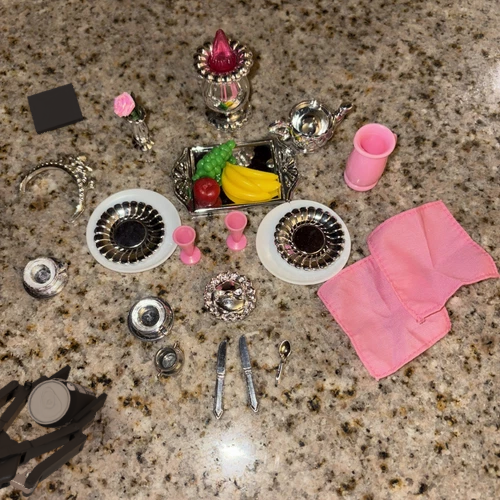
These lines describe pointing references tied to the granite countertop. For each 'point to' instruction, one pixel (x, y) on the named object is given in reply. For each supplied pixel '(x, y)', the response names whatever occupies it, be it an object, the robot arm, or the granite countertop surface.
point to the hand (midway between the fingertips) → (85, 385)
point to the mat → (54, 108)
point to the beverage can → (58, 402)
